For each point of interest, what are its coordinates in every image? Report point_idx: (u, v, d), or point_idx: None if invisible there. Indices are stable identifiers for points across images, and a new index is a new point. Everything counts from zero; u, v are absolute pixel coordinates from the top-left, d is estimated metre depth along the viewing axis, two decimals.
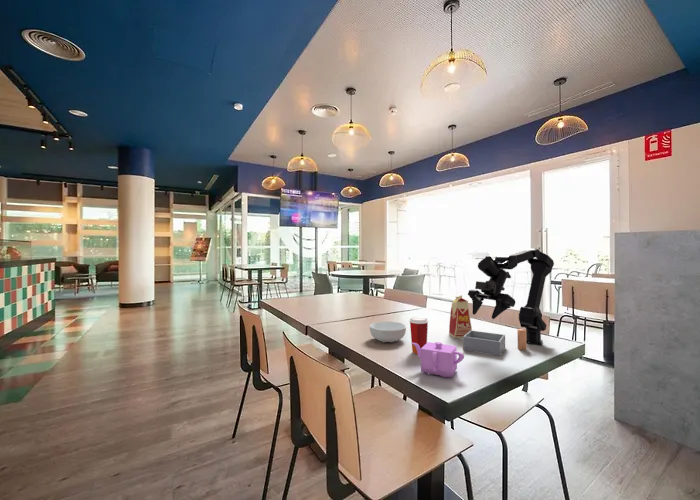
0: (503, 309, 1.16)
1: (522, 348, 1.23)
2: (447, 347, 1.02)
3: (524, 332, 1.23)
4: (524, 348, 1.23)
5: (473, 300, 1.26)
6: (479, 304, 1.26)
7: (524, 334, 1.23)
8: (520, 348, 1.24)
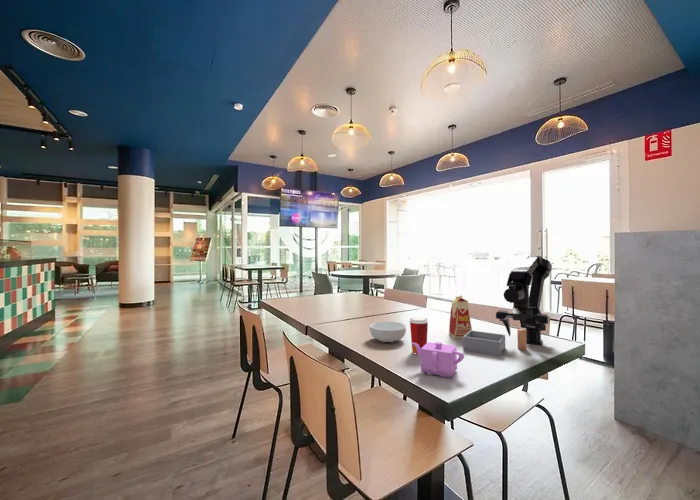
0: None
1: (522, 348, 1.23)
2: (447, 347, 1.02)
3: (524, 332, 1.23)
4: (524, 348, 1.23)
5: (505, 323, 1.27)
6: None
7: (524, 334, 1.23)
8: (520, 348, 1.24)
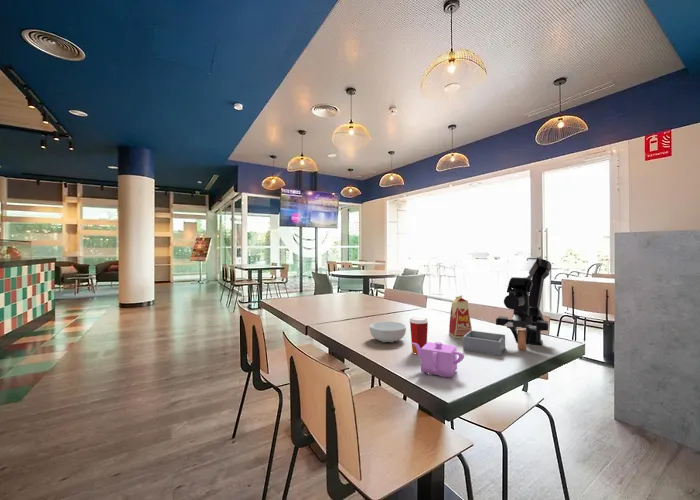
0: None
1: (522, 348, 1.23)
2: (447, 347, 1.02)
3: (524, 332, 1.23)
4: (524, 348, 1.23)
5: (513, 330, 1.25)
6: (516, 329, 1.27)
7: (524, 334, 1.23)
8: (520, 348, 1.23)
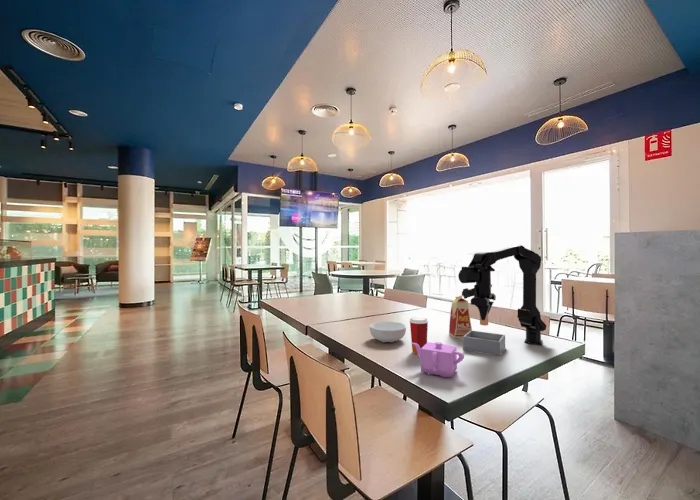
0: (486, 308, 1.22)
1: (480, 322, 1.26)
2: (447, 347, 1.02)
3: None
4: (480, 322, 1.26)
5: None
6: None
7: None
8: None
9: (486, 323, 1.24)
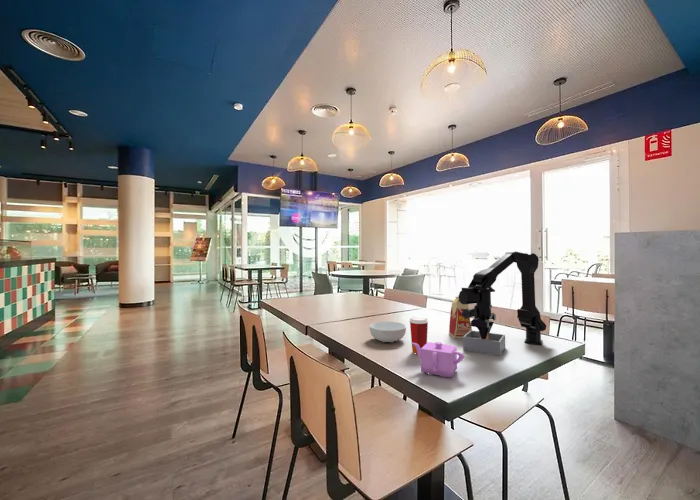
0: (486, 330, 1.22)
1: None
2: (447, 347, 1.02)
3: None
4: None
5: None
6: None
7: None
8: None
9: None
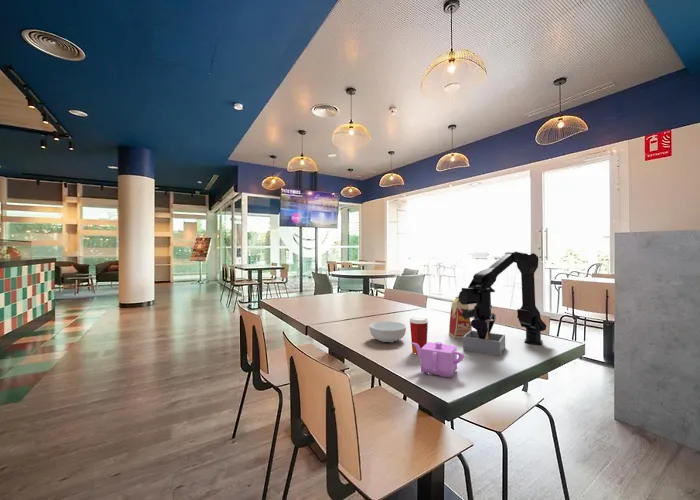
0: (485, 331, 1.20)
1: None
2: (447, 347, 1.02)
3: None
4: None
5: None
6: (489, 325, 1.29)
7: None
8: None
9: None
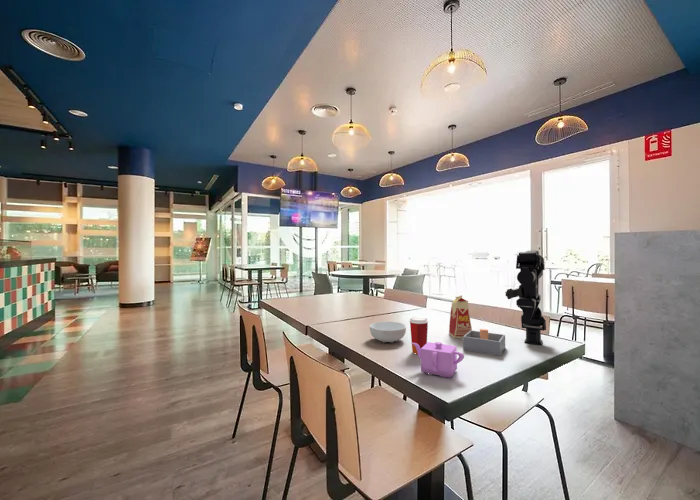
0: (531, 311, 1.17)
1: None
2: (447, 347, 1.02)
3: (480, 331, 1.25)
4: None
5: None
6: (534, 306, 1.26)
7: (480, 333, 1.26)
8: None
9: None
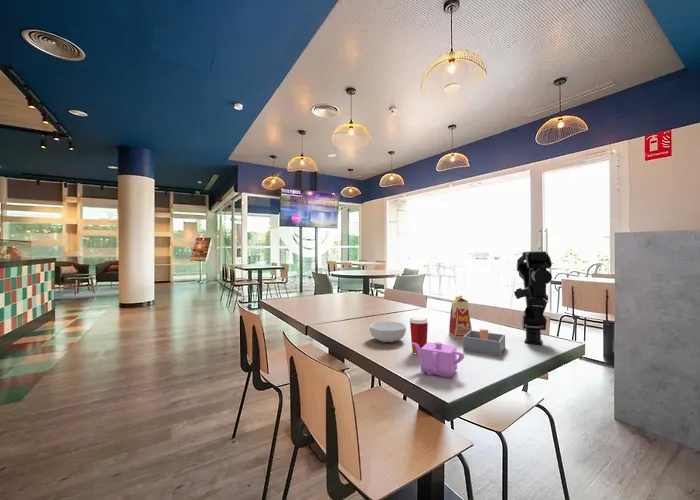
0: (542, 310, 1.16)
1: None
2: (447, 347, 1.02)
3: (480, 331, 1.25)
4: None
5: None
6: None
7: (480, 333, 1.26)
8: None
9: None
